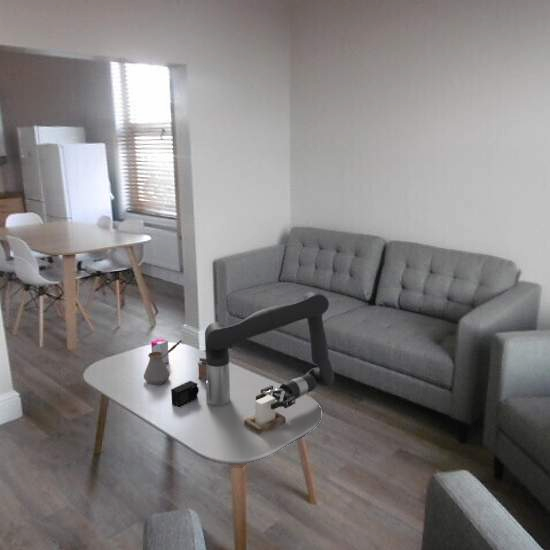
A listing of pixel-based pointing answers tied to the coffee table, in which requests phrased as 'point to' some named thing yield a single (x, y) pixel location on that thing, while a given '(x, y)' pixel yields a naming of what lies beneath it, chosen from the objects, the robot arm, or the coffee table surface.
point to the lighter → (202, 369)
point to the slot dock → (261, 429)
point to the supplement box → (161, 348)
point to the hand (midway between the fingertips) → (263, 402)
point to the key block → (264, 410)
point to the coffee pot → (157, 367)
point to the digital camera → (184, 393)
